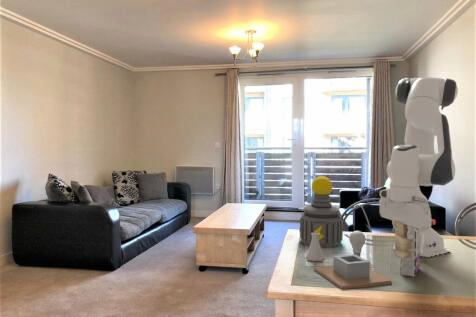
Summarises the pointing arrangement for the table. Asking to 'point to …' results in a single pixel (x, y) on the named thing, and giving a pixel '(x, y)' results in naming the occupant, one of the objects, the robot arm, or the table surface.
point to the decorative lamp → (321, 217)
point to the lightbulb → (357, 242)
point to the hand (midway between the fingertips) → (403, 236)
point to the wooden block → (402, 241)
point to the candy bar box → (412, 257)
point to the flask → (315, 249)
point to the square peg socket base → (351, 272)
